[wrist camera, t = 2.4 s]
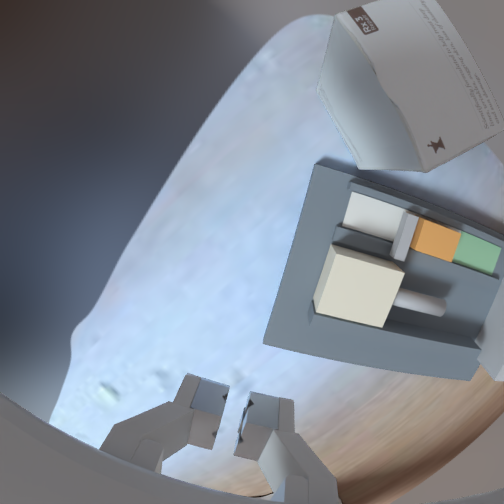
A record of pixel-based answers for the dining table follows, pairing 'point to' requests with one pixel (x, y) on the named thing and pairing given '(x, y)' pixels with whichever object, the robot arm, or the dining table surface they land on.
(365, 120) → the skincare box
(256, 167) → the dining table surface
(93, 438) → the dining table surface
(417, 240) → the orange rectangular block
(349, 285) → the cream block with rods
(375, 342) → the base
